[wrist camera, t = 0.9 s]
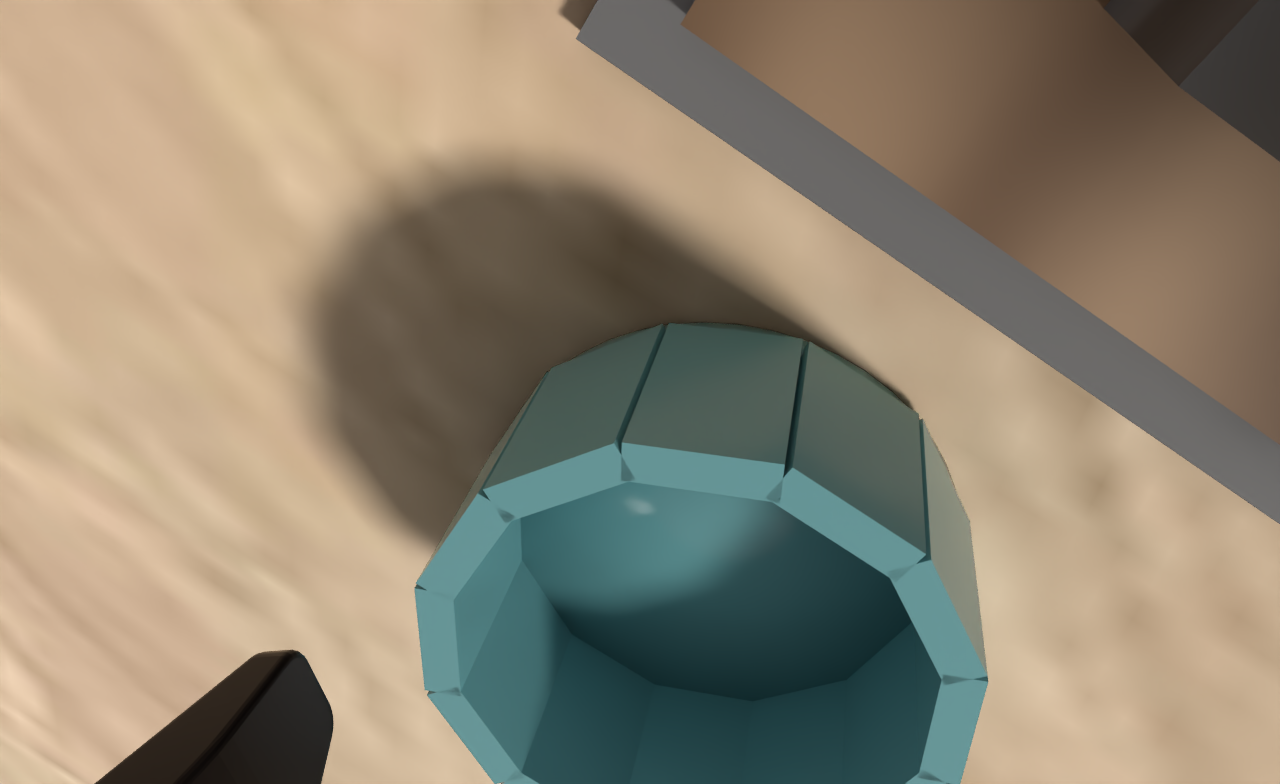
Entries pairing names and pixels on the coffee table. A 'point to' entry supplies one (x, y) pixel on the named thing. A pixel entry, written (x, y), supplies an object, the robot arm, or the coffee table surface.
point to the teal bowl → (708, 576)
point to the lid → (1070, 148)
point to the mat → (931, 242)
